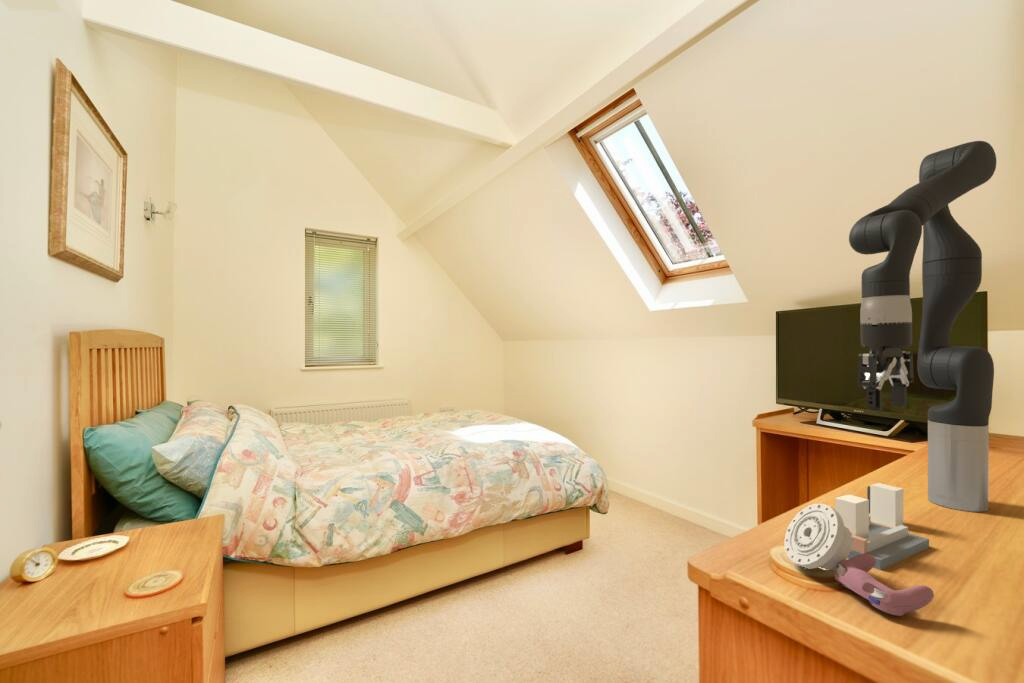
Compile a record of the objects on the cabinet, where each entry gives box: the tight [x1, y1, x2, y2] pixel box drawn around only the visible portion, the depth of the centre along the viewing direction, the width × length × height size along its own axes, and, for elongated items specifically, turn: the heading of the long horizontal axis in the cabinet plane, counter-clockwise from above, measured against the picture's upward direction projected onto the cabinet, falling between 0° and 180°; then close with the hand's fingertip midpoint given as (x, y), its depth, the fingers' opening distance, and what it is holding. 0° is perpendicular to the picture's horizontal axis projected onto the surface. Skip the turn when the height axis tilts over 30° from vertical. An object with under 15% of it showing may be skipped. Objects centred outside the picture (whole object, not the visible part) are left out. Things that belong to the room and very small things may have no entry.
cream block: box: [866, 482, 904, 528], centre depth 88 cm, size 5×3×7 cm, turn 28°
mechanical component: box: [783, 503, 854, 571], centre depth 70 cm, size 10×4×10 cm
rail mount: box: [834, 494, 930, 571], centre depth 78 cm, size 16×11×8 cm
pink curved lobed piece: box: [834, 554, 935, 617], centre depth 62 cm, size 10×5×7 cm
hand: (886, 407), depth 87 cm, fingers open, 8 cm apart
